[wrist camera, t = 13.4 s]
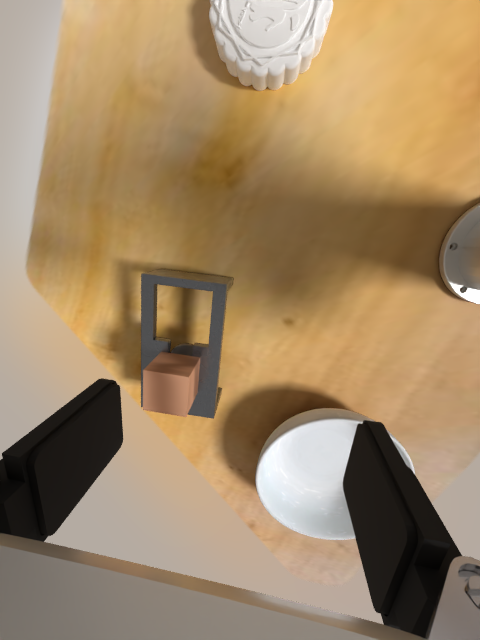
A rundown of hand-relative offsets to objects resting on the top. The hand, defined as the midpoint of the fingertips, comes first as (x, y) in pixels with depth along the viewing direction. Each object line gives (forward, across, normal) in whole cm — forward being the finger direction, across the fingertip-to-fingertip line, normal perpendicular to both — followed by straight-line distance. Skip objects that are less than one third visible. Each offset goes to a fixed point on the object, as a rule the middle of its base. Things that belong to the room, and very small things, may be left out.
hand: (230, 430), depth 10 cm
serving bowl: (+27, -12, +24) cm, 38 cm away
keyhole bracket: (+26, +10, +7) cm, 29 cm away
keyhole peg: (+24, +10, +10) cm, 27 cm away
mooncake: (+28, +3, -29) cm, 40 cm away
